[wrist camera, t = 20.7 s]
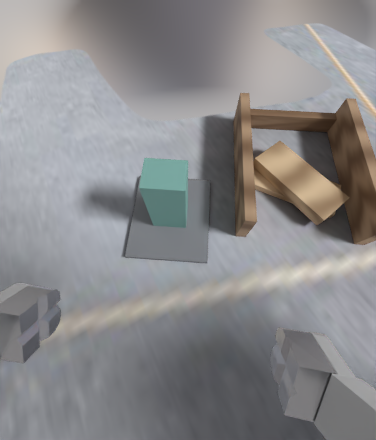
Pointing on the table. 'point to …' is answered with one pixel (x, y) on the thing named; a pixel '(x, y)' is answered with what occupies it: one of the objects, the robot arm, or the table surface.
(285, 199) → the oak offcut lower
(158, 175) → the teal block
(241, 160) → the walnut rack
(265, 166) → the oak offcut upper
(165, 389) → the table surface
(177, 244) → the charcoal mat
